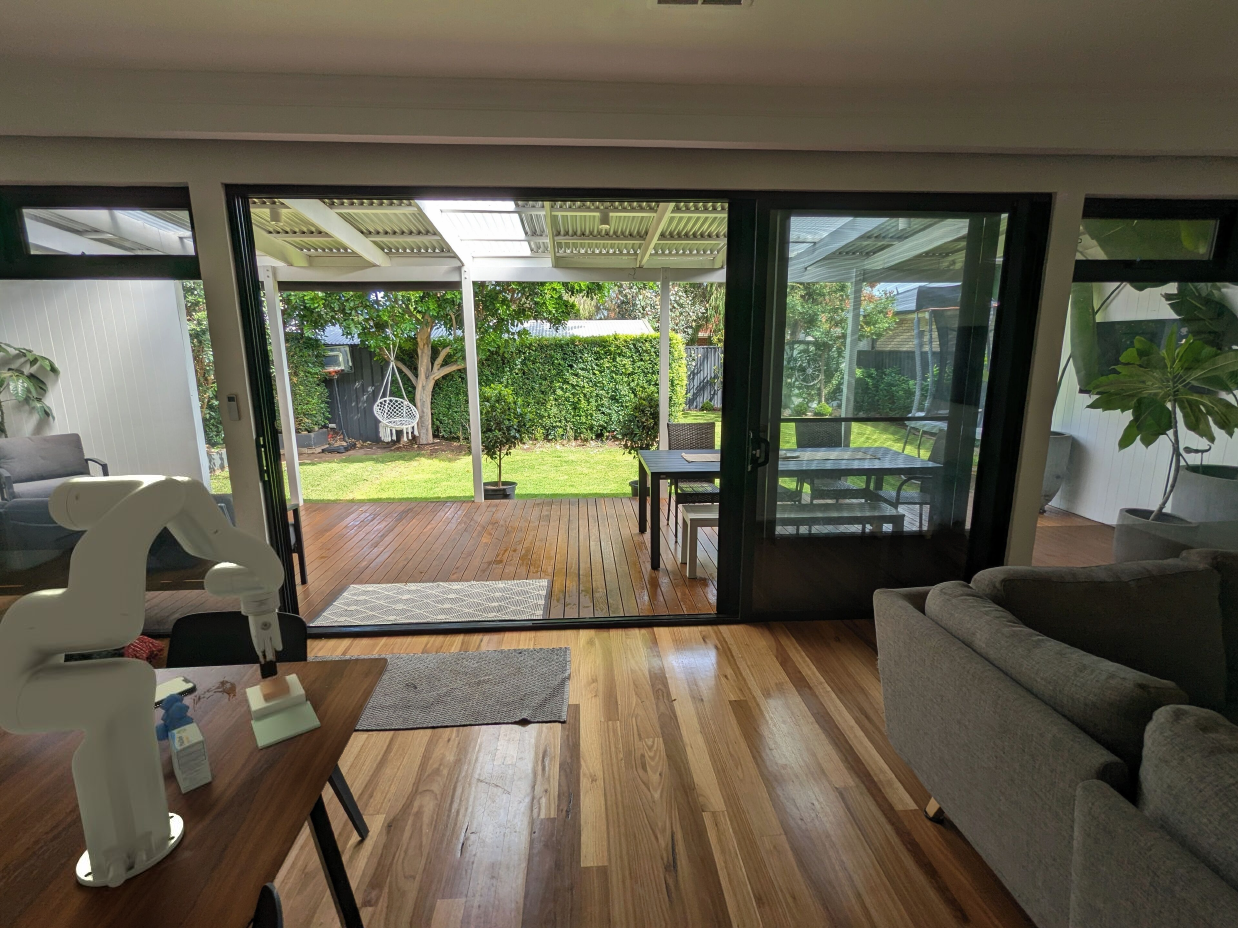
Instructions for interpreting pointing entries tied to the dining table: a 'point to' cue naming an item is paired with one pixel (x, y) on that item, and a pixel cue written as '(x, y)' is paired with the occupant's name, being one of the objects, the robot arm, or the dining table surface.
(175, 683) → the smartphone
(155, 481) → the robot arm
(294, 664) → the dining table surface
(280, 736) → the mat
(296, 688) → the plate
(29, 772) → the dining table surface
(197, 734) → the medicine box
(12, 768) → the dining table surface
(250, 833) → the dining table surface
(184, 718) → the grapes
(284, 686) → the tile
